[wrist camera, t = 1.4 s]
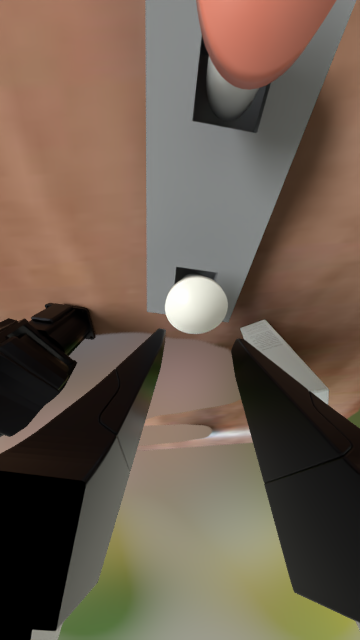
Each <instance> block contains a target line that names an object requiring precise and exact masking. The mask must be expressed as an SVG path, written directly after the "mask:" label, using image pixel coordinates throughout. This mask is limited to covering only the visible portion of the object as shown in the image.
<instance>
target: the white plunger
mask: <svg viewBox="0 0 360 640" xmlns="http://www.w3.org/2000/svg"><path fill="white" fill-rule="evenodd" d="M227 309H228V301H227V297H226V295H225V293H224V291H223V290H222V288H221V287H220V285H219V284H218V283H217V282H215V281H214V280H212V279H210V278H208V277H205V276H202V275H200V274H197V273H191V274H188V275H186V276H184V277H183V278H182V279H181V280H180V281H178V282H177V283H176V284H175V285H174V286H173V287H172V288H171V289H170V291H169V293H168V296H167V299H166V303H165V313H166V316H167V318H168V320H169V322H170V323H171V324H172V325H173V326H174V327H175V328H177V329H178V330H180V331H182V332H185V333H189V334H201V333H205V332H208V331H210V330H212V329H214V328H215V327H217V326H218V325H219V324H220V323H221V322H222V321H223V319H224V318H225V316H226V313H227Z"/></svg>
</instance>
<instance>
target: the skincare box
mask: <svg viewBox="0 0 360 640" xmlns="http://www.w3.org/2000/svg"><path fill="white" fill-rule="evenodd" d="M240 330H241V332H242V335H243V338H244V340H246V341H247V342H248V343H250V344H251V345H252V346H254V347H255V348H256V349H257V350H259V351H260V352H261V353H262V354H264V355H265V356H266V357H268V358H269V359H270V360H271V361H273V362H274V363H275V364H276V365H278V366H279V367H280V368H281V369H283V370H284V371H285V372H287V373H288V374H289V375H290V376H292V377H293V378H294V379H295V380H297V381H298V382H299V383H301V384H302V385H303V386H304V387H306V388H307V389H308V391H311V392H312V393H313V394H314V395H316V396H317V397H318V398H320V399H321V400H322V401H323V402H325V403H326V404H327V405H328V396H329V389H328V388H327V387H326V386H325V384H324V383H323V382H322V381H321V380H320V379H319V378H318V377H317V376H316V375H315V374H314V372H313V371H312V370H311V369H310V368H309V367H308V366H307V365H306V364H305V363H304V361H303V360H302V359H301V358H300V357H299V356H298V355H297V354H296V353H295V352H294V350H293V349H292V348H291V347H290V346H289V345H288V344H287V343H286V342H285V341H284V339H283V338H282V337H281V336H280V335H279V334H278V333H277V332H276V331H275V330H274V329H273V327H272V326H271V325H270V324H269V323H268V322H267V321H266V320H261V321H259V322H256V323H253V324H250V325H248V326H245V327H242V328H240Z"/></svg>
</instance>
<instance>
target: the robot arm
mask: <svg viewBox="0 0 360 640" xmlns="http://www.w3.org/2000/svg"><path fill="white" fill-rule="evenodd" d="M45 307H46V309H45V310H43V311H41V312H39V313H37V314H36V315H34V316H32V317H31V319H32V320H31V321H29V322H28V321H27V320H26V319H25V318H24V319H22V320H20V321H17V320H13V319H9V318H8V319H6V320H4V321H2V322H0V437H1V436H3V435H6V436H9V437H10V436H13V435H15V434H16V433H17V432H19V431H20V430H22V429H24V428H25V427H26V426H27V425H28V424H29V423H30V422H31V421H32V419H33V418H34V417H35V416H36V415H37V413H38V412H39V411H40V410H41V409H42V408H43V406H44V405H46V404H47V403H48V402H50V401H51V400H52V399H54V398H55V397H56V396H57V395H58V394H59V393H60V392H61V391H62V389H63V388H64V387H65V385H66V383H67V381H68V379H69V378H70V375H71V374H72V372H73V370H74V368H75V366H76V364H77V362H76V361H75V360H72V359H71V358H70V357H69V355H70V354H71V353H72V352H73V351H74V350H75V348H77V346H78V345H79V344H80V343H81V342H82V341H83V340H84V339H94V338H95V333H94V329H93V326H92V322H91V319H90V315H89V312H88V310H87V309H86V308H82V307H75V306H70V305H62V304H51V303H48V304H46V305H45ZM165 336H166V330H165V329H158V330H157V331H156V332H154V333H153V334H152V335H151V336H150V337H149V338H148V339H147V340H146V341H145V342H144V343H142V344H141V345H140V346H139V347H138V348H137V349H136V350H135V351H134V352H133V353H132V354H131V355H130V356H128V357H127V358H126V359H125V360H124V361H123V362H122V363H121V364H120V365H119V366H118V367H117V368H116V369H114V370H113V371H112V372H111V373H110V374H109V375H108V376H106V377H105V378H104V379H103V380H102V381H101V382H100V383H99V384H97V385H96V386H95V387H94V388H92V389H91V390H90V391H89V392H87V393H86V394H85V395H84V396H82V397H81V398H80V399H78V400H77V401H76V402H75V403H73V404H72V405H71V406H69V407H68V408H67V409H65V410H64V411H63V412H62V413H60V414H59V415H58V416H56V417H55V418H54V419H52V420H51V421H50V422H49V423H47V424H46V425H45V426H43V427H42V428H41V429H39V430H38V431H37V432H36V433H34V434H32V435H31V436H29V437H28V438H27V439H25V440H23V441H22V442H20V443H19V444H17V445H15V446H14V447H12V448H10V449H8V450H6V451H5V452H3V453H1V454H0V640H58V636H59V633H60V630H61V626H62V624H63V622H64V621H65V619H66V618H67V617H68V616H69V615H70V614H71V613H72V611H73V610H74V609H75V608H76V607H77V606H78V604H79V603H80V602H81V601H82V600H83V599H84V598H85V596H86V595H87V594H88V593H89V592H90V591H91V589H92V588H93V587H94V586H95V585H96V584H97V582H98V580H99V576H100V573H101V569H102V566H103V563H104V559H105V556H106V552H107V549H108V545H109V542H110V539H111V535H112V532H113V529H114V525H115V522H116V518H117V515H118V511H119V508H120V505H121V501H122V498H123V494H124V491H125V487H126V484H127V481H128V478H129V474H130V471H131V467H132V464H133V460H134V457H135V454H136V450H137V447H138V443H139V440H140V436H141V433H142V430H143V426H144V423H145V420H146V416H147V413H148V409H149V406H150V403H151V399H152V396H153V392H154V389H155V386H156V382H157V379H158V375H159V372H160V368H161V363H162V357H163V350H164V345H165ZM231 353H232V359H233V366H234V372H235V377H236V381H237V385H238V389H239V392H240V396H241V400H242V403H243V407H244V411H245V415H246V418H247V422H248V426H249V429H250V433H251V437H252V440H253V444H254V448H255V451H256V455H257V459H258V462H259V466H260V470H261V473H262V477H263V481H264V483H265V484H264V485H265V489H266V492H267V495H268V500H269V503H270V507H271V511H272V514H273V518H274V521H275V525H276V529H277V533H278V537H279V540H280V544H281V548H282V551H283V555H284V558H285V562H286V566H287V570H288V573H289V577H290V580H291V584H292V587H293V590H294V592H295V593H297V594H299V595H301V596H303V597H305V598H308V599H310V600H312V601H314V602H317V603H318V604H320V605H323V606H325V607H327V608H329V609H331V610H333V611H335V612H337V613H340V614H342V615H344V616H346V617H348V618H350V619H353V620H355V621H356V623H357V625H358V627H359V630H360V428H358V427H357V426H356V425H354V424H353V423H351V422H350V421H349V420H347V419H346V418H345V417H343V416H342V415H341V414H339V413H338V412H336V411H335V410H334V409H333V408H331V407H330V406H329V405H327V404H326V403H325V402H323V401H322V400H321V399H320V398H318V397H317V396H316V395H314V394H313V393H312V392H311V391H308V389H307V388H306V387H304V386H303V385H302V384H301V383H299V382H298V381H297V380H295V379H294V378H293V377H292V376H290V375H289V374H288V373H287V372H285V371H284V370H283V369H281V368H280V367H279V366H278V365H276V364H275V363H274V362H273V361H271V360H270V359H269V358H268V357H266V356H265V355H264V354H262V353H261V352H260V351H259V350H257V349H256V348H255V347H254V346H252V345H251V344H250V343H248V342H247V341H246V340H244V339H236V341H235V343H234V345H233V347H232V350H231Z"/></svg>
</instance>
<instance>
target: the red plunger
mask: <svg viewBox="0 0 360 640" xmlns="http://www.w3.org/2000/svg"><path fill="white" fill-rule="evenodd" d="M335 2H336V0H196V4H197V11H198V19H199V24H200V29H201V33H202V37H203V40H204V44H205V47H206V50H207V52H208V54H209V58H208V66H207V74H206V90H207V97H208V101H209V104H210V107H211V109H212V110H213V112H214V113H215V115H216V116H217V117H218V118H220V119H222V120H225V121H232V120H235V119H237V118H238V117H240V116H241V115H242V114H243V113H244V112H245V111H246V110H247V109H248V107H249V106H250V104H251V103H252V101H253V99H254V97H255V95H256V93H257V91H258V90H259V88H260V87H263V86H266V85H268V84H269V83H271V82H273V81H275V80H276V79H277V78H279V77H280V76H281V75H282V74H284V73H285V72H286V71H287V70H288V69H289V68H290V67H291V66H292V65H293V63H294V62H295V61H296V60H297V59H298V57H299V56H300V55H301V54H302V52H303V51H304V49H305V48H306V47H307V45H308V44H309V42H310V41H311V39H312V38H313V36H314V35H315V33H316V32H317V30H318V29H319V27H320V26H321V24H322V23H323V21H324V20H325V18H326V17H327V15H328V13H329V12H330V10H331V8H332V7H333V5H334V4H335Z"/></svg>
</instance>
